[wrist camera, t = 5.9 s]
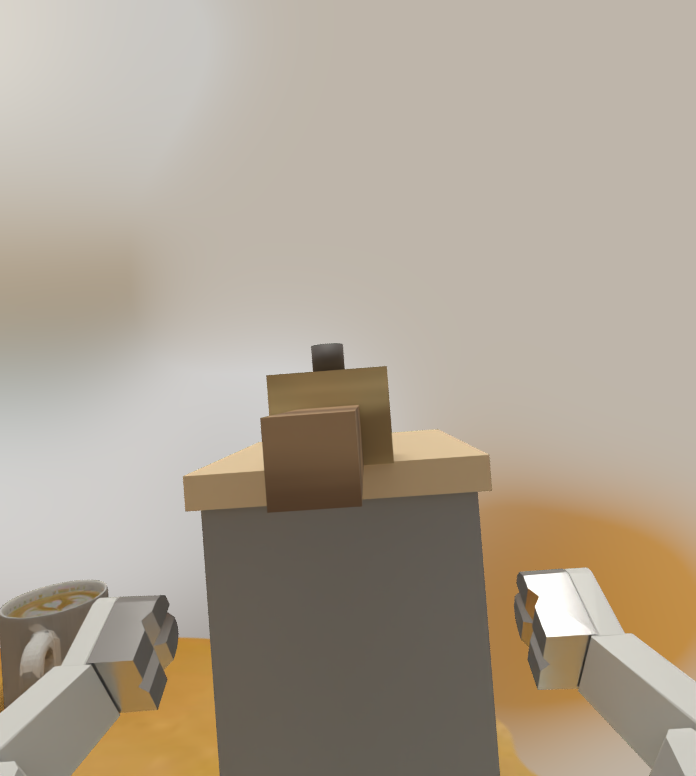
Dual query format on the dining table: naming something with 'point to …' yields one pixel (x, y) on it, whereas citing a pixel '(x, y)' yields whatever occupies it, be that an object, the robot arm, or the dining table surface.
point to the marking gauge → (324, 433)
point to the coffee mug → (42, 631)
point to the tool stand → (351, 619)
